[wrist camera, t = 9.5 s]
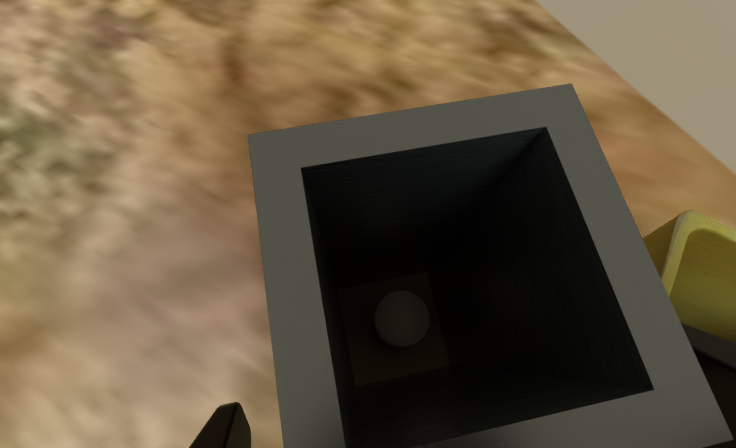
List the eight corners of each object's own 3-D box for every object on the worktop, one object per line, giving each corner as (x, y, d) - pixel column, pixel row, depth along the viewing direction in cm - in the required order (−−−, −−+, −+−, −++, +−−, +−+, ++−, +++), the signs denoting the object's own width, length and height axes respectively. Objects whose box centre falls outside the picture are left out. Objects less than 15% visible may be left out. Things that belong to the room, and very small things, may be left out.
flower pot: (547, 266, 20) (689, 200, 11) (711, 358, 19) (1011, 361, 10) (474, 426, 17) (585, 496, 9) (658, 546, 16) (1001, 764, 7)
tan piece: (492, 396, 18) (542, 411, 13) (323, 435, 17) (310, 466, 12) (447, 236, 20) (474, 200, 15) (299, 264, 20) (280, 235, 15)
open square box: (472, 380, 17) (733, 440, 5) (340, 409, 16) (296, 553, 5) (438, 253, 19) (571, 83, 7) (319, 276, 18) (247, 134, 7)
